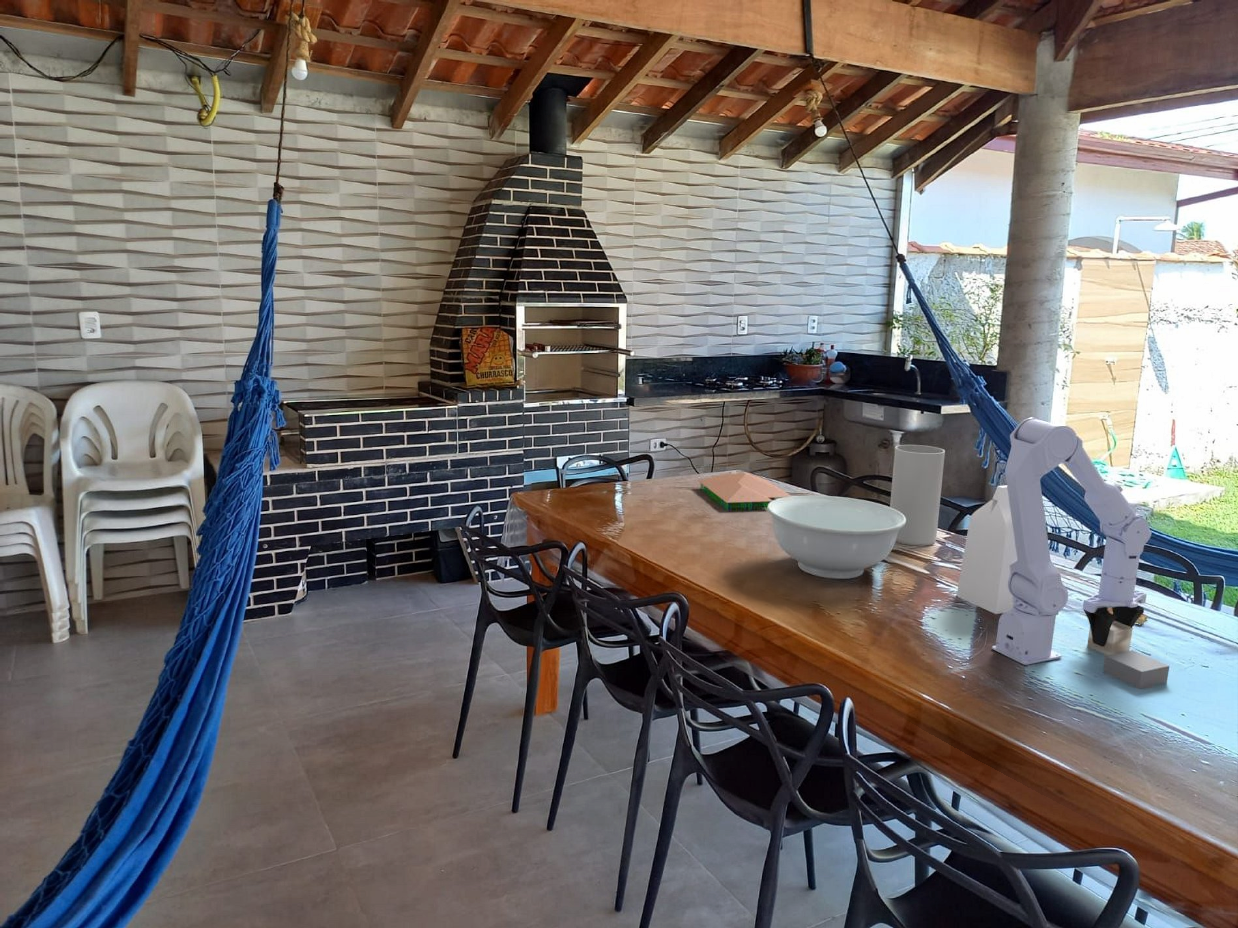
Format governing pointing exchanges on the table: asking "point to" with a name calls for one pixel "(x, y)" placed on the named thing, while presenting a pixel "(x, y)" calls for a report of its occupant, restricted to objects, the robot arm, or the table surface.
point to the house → (741, 489)
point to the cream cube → (1114, 639)
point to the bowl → (834, 533)
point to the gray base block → (1136, 669)
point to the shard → (1139, 620)
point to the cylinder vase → (917, 492)
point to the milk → (989, 556)
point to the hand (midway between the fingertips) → (1108, 642)
